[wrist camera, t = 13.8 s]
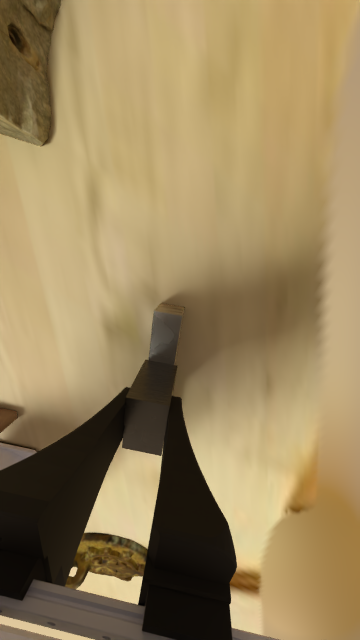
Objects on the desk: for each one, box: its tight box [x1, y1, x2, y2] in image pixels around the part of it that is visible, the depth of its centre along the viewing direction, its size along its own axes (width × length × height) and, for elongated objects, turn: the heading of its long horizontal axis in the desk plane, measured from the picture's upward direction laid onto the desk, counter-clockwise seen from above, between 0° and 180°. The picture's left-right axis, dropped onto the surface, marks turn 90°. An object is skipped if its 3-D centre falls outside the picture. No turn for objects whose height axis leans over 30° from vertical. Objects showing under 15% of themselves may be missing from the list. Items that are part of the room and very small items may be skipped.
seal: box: [65, 533, 148, 589], centre depth 27 cm, size 9×5×15 cm
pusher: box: [122, 303, 185, 456], centre depth 13 cm, size 12×2×6 cm, turn 171°
